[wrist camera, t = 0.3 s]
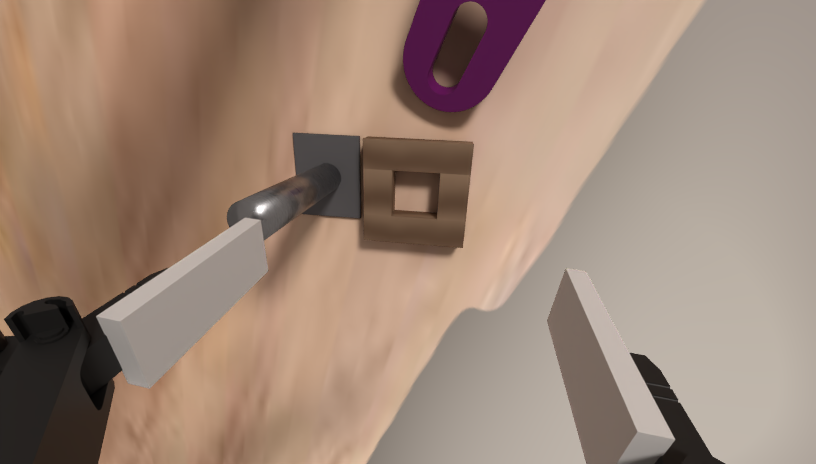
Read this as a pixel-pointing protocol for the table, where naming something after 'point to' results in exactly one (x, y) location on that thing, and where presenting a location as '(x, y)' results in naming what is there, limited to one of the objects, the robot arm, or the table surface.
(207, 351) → the table surface
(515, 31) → the mounting bracket
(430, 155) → the collar
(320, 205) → the mat
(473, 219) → the table surface
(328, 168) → the peg
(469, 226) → the table surface
